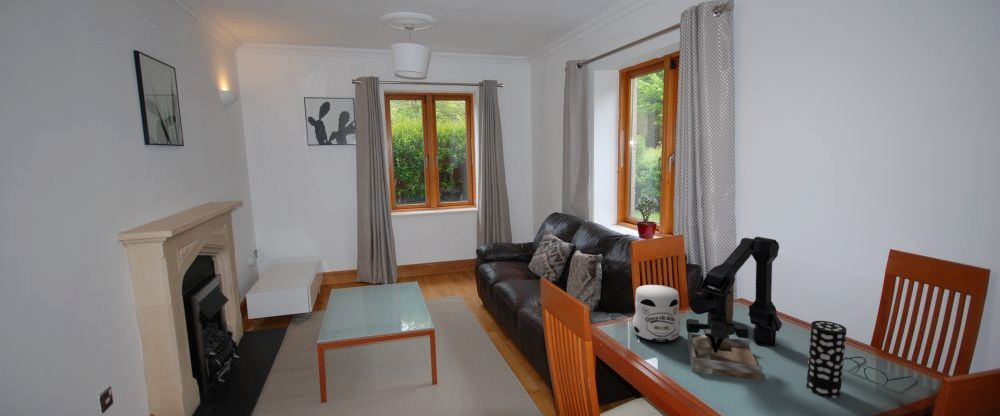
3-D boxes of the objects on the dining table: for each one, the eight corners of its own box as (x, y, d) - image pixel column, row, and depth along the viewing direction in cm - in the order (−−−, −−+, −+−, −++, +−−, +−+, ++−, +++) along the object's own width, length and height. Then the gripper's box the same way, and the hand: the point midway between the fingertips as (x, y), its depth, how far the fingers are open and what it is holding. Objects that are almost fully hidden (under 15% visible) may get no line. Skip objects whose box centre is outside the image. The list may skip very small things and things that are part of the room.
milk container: (658, 350, 162) (659, 302, 160) (622, 333, 177) (623, 289, 174) (689, 338, 171) (691, 293, 168) (653, 323, 186) (654, 281, 183)
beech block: (711, 346, 156) (705, 334, 156) (712, 351, 152) (707, 339, 152) (697, 349, 158) (692, 337, 158) (698, 355, 154) (693, 343, 154)
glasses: (835, 368, 148) (838, 354, 147) (864, 365, 153) (867, 350, 153) (885, 390, 135) (888, 374, 134) (915, 385, 140) (918, 370, 140)
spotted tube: (799, 383, 139) (804, 321, 136) (825, 381, 139) (830, 320, 136) (820, 398, 130) (826, 333, 128) (847, 396, 131) (854, 331, 128)
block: (732, 328, 179) (735, 280, 176) (711, 325, 183) (713, 277, 180) (732, 319, 189) (735, 272, 186) (712, 316, 192) (715, 270, 189)
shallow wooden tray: (748, 351, 160) (749, 338, 159) (761, 380, 141) (762, 365, 140) (687, 345, 166) (688, 332, 165) (692, 371, 147) (692, 357, 146)
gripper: (689, 314, 147) (687, 359, 149) (753, 320, 141) (750, 367, 143) (686, 302, 157) (684, 344, 159) (746, 307, 151) (744, 351, 154)
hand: (715, 352), depth 154 cm, fingers closed
